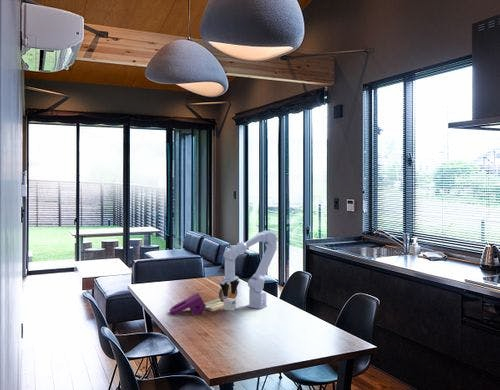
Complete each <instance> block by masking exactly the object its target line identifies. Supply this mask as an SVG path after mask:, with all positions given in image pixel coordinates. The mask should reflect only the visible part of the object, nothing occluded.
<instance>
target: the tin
mask: <svg viewBox="0 0 500 390" xmlns="http://www.w3.org/2000/svg"><path fill="white" fill-rule="evenodd" d="M237 295H238V288H237V289H236V293H235V294H232V292H231V285H230V286H229V289H228V296H227V297H226V296H224V295H223V291H222V288H220V289H219V292H218V299H221V302H224V299H227V298H231V299H236V298H237Z"/></svg>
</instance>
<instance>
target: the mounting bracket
mask: <svg viewBox="0 0 500 390" xmlns="http://www.w3.org/2000/svg"><path fill="white" fill-rule="evenodd" d="M187 309H190V311H191V313H192V314H193V315H195V316H196V315H201V314H203V313H204V312H205V311H206V310H205V305H204V301H203V299H202V297H201V295H200V293H199V292H197V293H195V294H193V295H191V296H189V297H188V298H186V299H183V300H182V301H180V302H178V303H176V304H174V305H173V306H172V307H170V309H169V313H170V314H171V315H174V316H175V315H177V314H179V313H181V312H183V311H185V310H187Z"/></svg>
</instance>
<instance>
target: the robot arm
mask: <svg viewBox="0 0 500 390" xmlns="http://www.w3.org/2000/svg"><path fill="white" fill-rule="evenodd" d="M277 241H278V237H277V234H276V233H275V232H274V231H269V230H265V229H264V230H262V231H260V232H259V233H257V234H255V235H254V236H253V237H251V238H250V239H248V240H247V241H245V242H242V241H241V242H240V241H239V242H237V244H236V245H233V246H231V247H230V248H228V249H225V251H224V252H223V254H222V256H223V258H224V277H223V278H222V280H220V283H219V286H220V289H222V291H223V295H224V296H226V297H227V296H228V289H229V286H231V292H232V294H235V293H236V289H237V290H238V286H239V284H240V281H239V276H237V275H236V259H237V257H238V256H240V255H242V254H244V253H245V252H247V251H248V248H251V246H254V245H256V244H257V243H260V242H262V243H264V245H265V248H266V249H265V251H264V253H263V255H262V258H261V260H260V262H259V265H258V267H257V268H256V271H255V273H254V274H252V276H251V277H250V279H248V281H247V286H248V288H249V289H248V290H249V291H248V292H249V293H248V294H249V297H248V298H249V300H248V304H247V305H246V307H248V308H252V309H257V310H261V309H263V308H266V307H267V306H268V305H267V293H266V292H264V291H263V290H264V286H265V282H266V281H265V275H267V274H266V273H267V271H268V268H269V266H270V264H271V262H272V261H273V259H274V256H275V253H276V251H277V249H278V248H277V246H278V244H277ZM228 283H229V284H228Z"/></svg>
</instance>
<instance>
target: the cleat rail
mask: <svg viewBox="0 0 500 390" xmlns="http://www.w3.org/2000/svg"><path fill="white" fill-rule="evenodd" d="M203 303H204V302H203ZM204 305H205V310H204V311H210V312H214V311H215V312H216V311H218V310H219V309H222V308H223V309H224V302H222V301H221V299H219V298H216V299H214V300H210V301H207V302H205V303H204Z"/></svg>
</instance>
